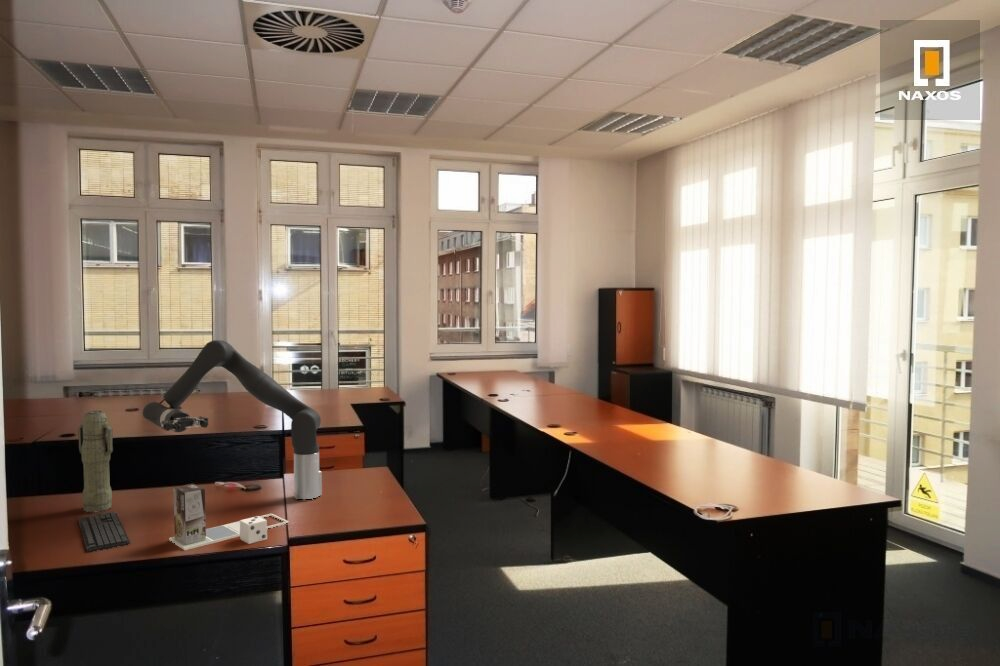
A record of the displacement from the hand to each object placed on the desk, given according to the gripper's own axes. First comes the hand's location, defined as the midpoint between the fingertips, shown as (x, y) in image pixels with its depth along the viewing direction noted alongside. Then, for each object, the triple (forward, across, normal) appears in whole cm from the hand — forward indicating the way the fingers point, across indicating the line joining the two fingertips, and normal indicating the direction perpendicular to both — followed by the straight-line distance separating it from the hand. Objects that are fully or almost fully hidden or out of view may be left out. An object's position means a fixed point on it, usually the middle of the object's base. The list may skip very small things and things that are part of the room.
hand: (193, 426), depth 233 cm
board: (+21, +3, +32) cm, 38 cm away
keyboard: (-8, -26, +33) cm, 43 cm away
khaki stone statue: (-36, -20, +32) cm, 52 cm away
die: (+33, +5, +32) cm, 46 cm away
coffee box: (+21, -10, +31) cm, 39 cm away
